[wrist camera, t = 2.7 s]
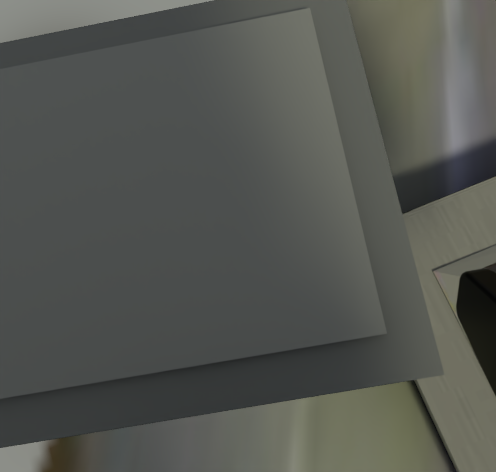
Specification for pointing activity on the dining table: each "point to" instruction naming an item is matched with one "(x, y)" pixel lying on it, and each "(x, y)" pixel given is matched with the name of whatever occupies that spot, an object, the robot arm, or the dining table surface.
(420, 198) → the dining table surface
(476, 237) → the electrical outlet
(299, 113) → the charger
